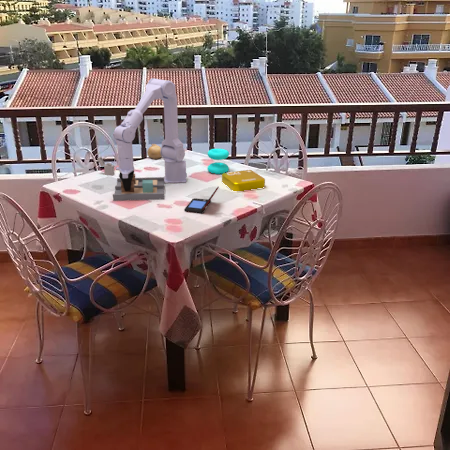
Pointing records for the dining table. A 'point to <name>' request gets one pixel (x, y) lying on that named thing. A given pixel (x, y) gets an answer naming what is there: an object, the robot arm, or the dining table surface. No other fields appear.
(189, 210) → the handheld game console
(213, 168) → the donuts
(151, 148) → the onion
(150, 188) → the teal cube
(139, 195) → the slate board
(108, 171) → the lighter
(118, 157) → the robot arm
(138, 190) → the oak strip
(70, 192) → the dining table surface
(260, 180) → the element tile
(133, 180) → the broken strip front
